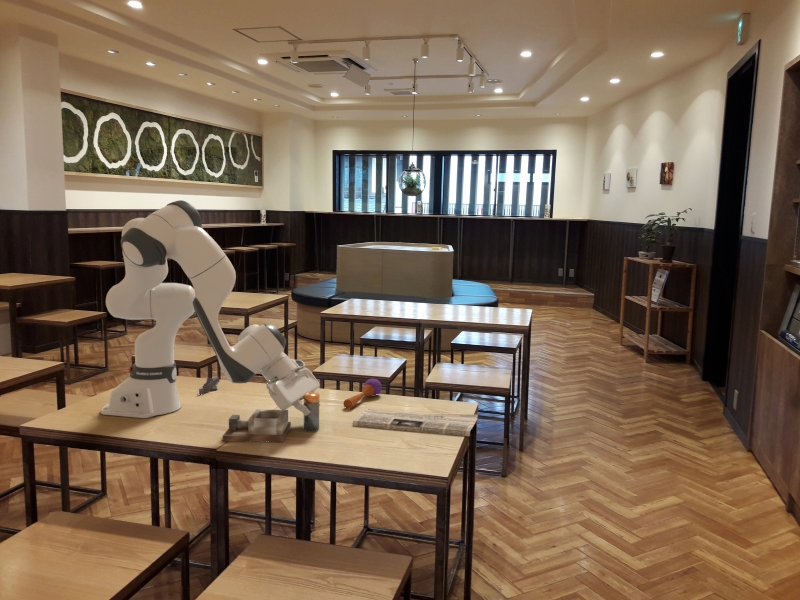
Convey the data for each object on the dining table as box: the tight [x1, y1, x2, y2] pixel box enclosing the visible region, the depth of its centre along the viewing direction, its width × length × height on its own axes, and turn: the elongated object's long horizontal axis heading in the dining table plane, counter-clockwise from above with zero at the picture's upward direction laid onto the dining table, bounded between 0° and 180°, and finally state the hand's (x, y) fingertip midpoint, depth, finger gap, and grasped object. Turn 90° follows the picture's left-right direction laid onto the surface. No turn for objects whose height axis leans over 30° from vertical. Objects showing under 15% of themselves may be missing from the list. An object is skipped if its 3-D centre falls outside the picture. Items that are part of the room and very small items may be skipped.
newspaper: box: [352, 408, 479, 437], centre depth 177 cm, size 35×12×4 cm, turn 78°
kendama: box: [342, 378, 383, 409], centre depth 199 cm, size 6×6×20 cm
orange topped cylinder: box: [303, 392, 320, 432], centre depth 170 cm, size 4×4×10 cm
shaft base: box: [222, 408, 292, 443], centre depth 166 cm, size 16×12×6 cm
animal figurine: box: [198, 376, 221, 396], centre depth 206 cm, size 12×4×5 cm, turn 165°
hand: (313, 410), depth 170 cm, fingers closed on orange topped cylinder, 4 cm apart
